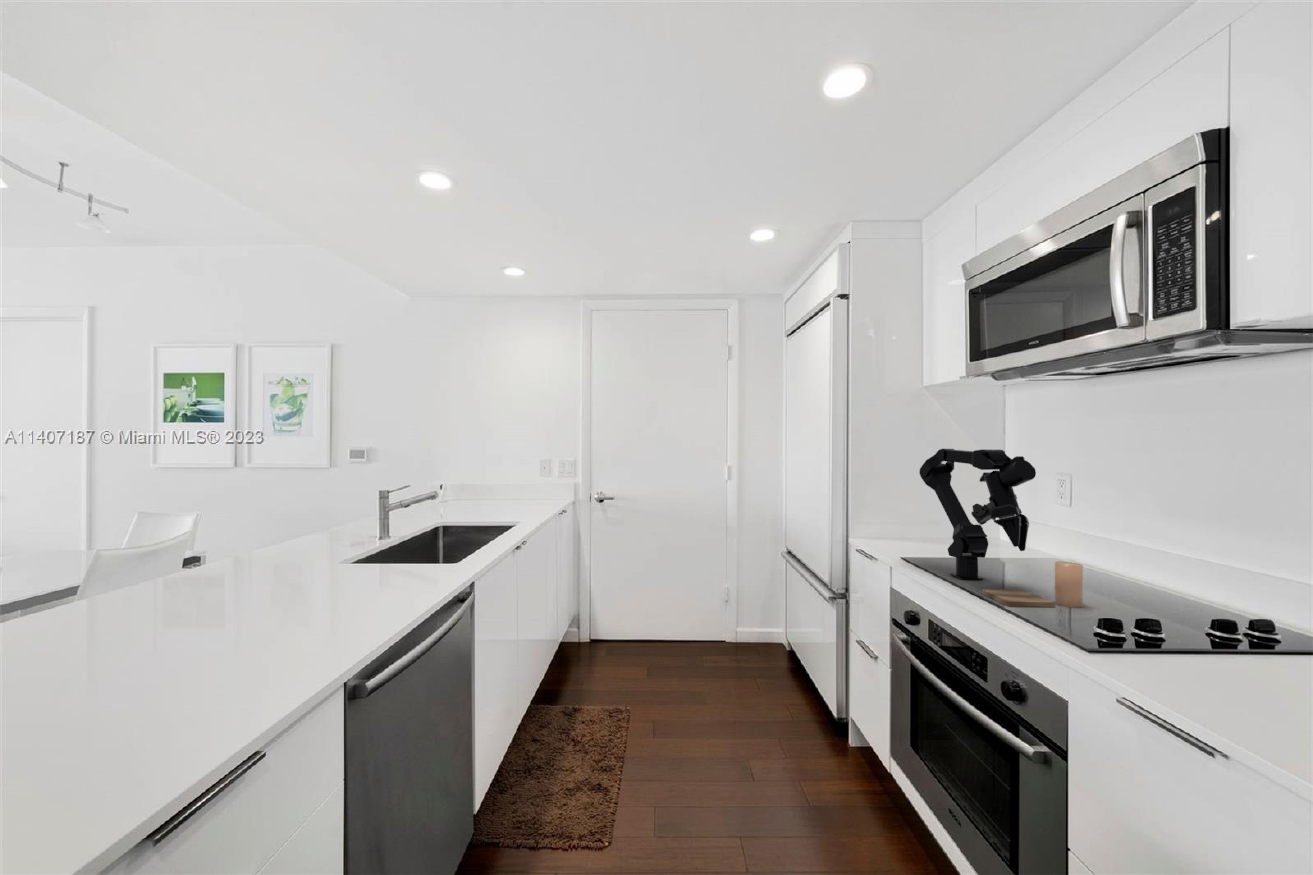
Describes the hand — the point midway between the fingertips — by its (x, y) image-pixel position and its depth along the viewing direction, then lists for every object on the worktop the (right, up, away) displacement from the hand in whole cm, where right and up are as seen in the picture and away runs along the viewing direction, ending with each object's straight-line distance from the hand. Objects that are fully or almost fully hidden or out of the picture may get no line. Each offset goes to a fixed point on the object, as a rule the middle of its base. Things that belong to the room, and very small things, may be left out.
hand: (1019, 548), depth 147 cm
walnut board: (-5, -12, -6) cm, 14 cm away
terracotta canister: (+6, -12, -9) cm, 16 cm away
